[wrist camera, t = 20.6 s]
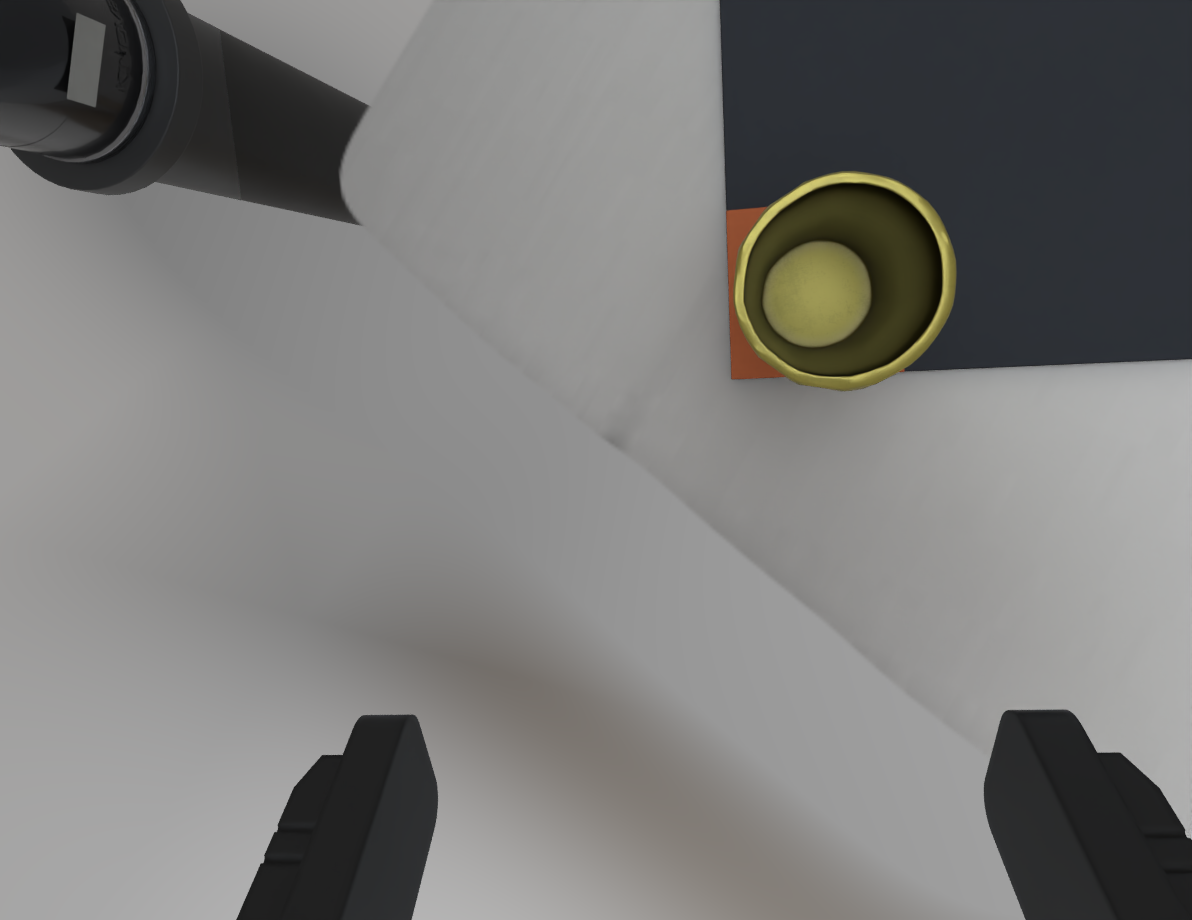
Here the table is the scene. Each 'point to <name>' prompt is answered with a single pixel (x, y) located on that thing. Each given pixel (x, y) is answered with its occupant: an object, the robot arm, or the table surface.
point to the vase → (844, 280)
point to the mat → (987, 158)
